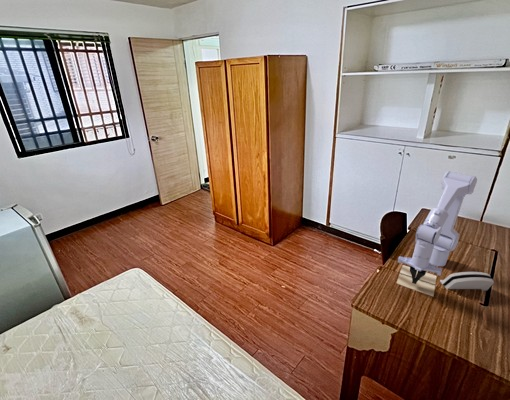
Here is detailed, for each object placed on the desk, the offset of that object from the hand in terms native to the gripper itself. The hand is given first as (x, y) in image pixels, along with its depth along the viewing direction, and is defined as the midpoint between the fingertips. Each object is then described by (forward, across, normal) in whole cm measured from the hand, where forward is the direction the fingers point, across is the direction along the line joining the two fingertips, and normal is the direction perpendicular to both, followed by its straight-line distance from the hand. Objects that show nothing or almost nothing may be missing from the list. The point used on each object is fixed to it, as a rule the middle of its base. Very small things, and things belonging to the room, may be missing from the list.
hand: (414, 282), depth 108 cm
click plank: (+3, +1, +1) cm, 4 cm away
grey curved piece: (+4, +17, +11) cm, 21 cm away
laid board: (+3, +1, +9) cm, 9 cm away
